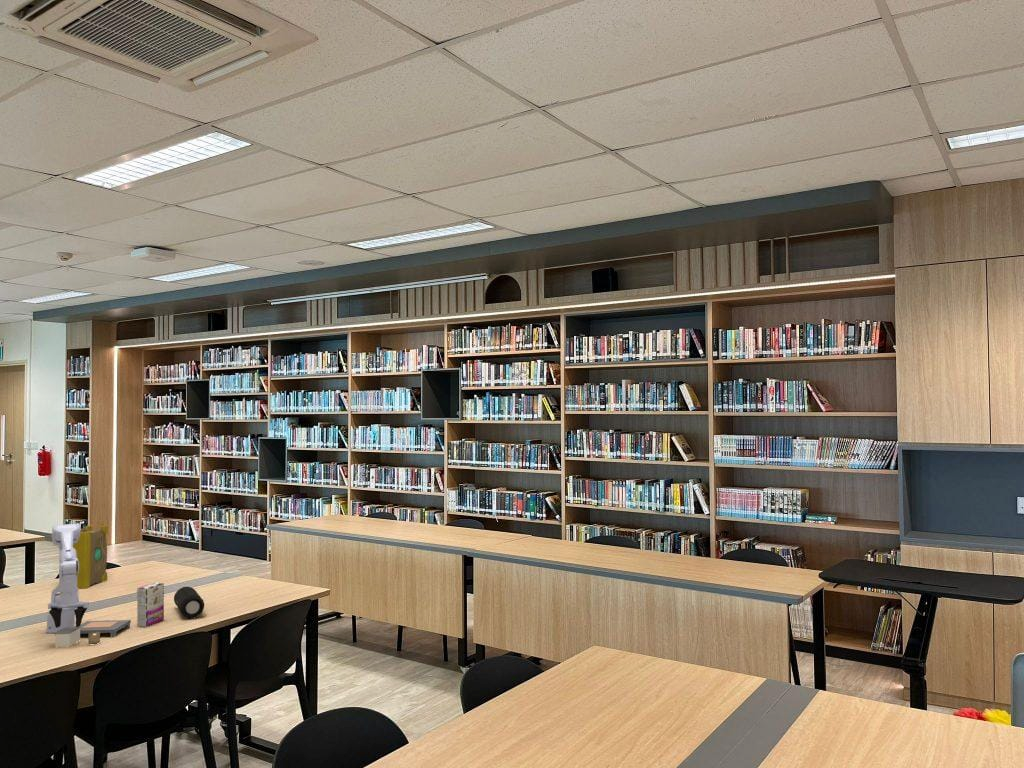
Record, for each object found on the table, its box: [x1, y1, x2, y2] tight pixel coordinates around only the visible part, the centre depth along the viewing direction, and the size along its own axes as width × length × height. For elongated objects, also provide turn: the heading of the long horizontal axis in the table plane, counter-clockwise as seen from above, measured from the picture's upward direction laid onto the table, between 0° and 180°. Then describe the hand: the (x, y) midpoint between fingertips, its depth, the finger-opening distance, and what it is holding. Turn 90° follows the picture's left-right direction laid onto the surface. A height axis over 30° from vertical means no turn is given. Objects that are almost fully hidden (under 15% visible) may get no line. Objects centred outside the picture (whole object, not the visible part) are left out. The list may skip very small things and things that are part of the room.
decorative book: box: [73, 525, 109, 589], centre depth 392 cm, size 20×11×30 cm, turn 0°
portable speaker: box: [173, 586, 205, 619], centre depth 331 cm, size 26×10×10 cm, turn 32°
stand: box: [80, 619, 132, 637], centre depth 301 cm, size 18×14×3 cm
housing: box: [54, 625, 81, 648], centre depth 286 cm, size 5×8×6 cm, turn 3°
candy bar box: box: [136, 581, 165, 628], centre depth 314 cm, size 11×5×16 cm, turn 168°
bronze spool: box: [87, 632, 101, 645], centre depth 287 cm, size 4×4×4 cm
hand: (68, 626), depth 286 cm, fingers open, 7 cm apart
